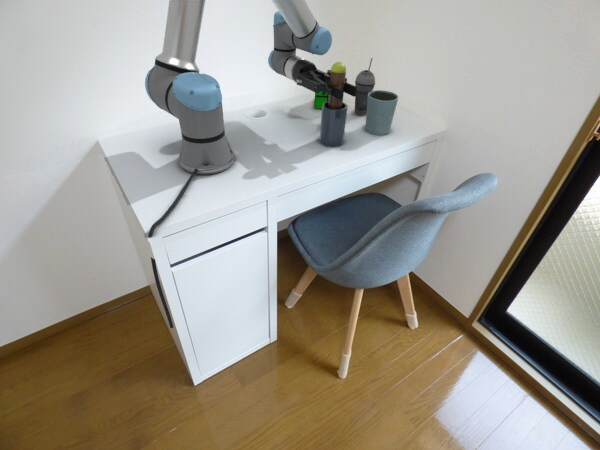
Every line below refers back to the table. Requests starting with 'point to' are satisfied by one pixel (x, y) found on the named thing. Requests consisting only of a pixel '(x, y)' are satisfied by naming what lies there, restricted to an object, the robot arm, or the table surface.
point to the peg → (337, 84)
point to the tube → (333, 125)
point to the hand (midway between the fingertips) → (348, 93)
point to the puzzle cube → (320, 99)
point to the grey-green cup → (380, 111)
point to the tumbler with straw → (363, 90)
